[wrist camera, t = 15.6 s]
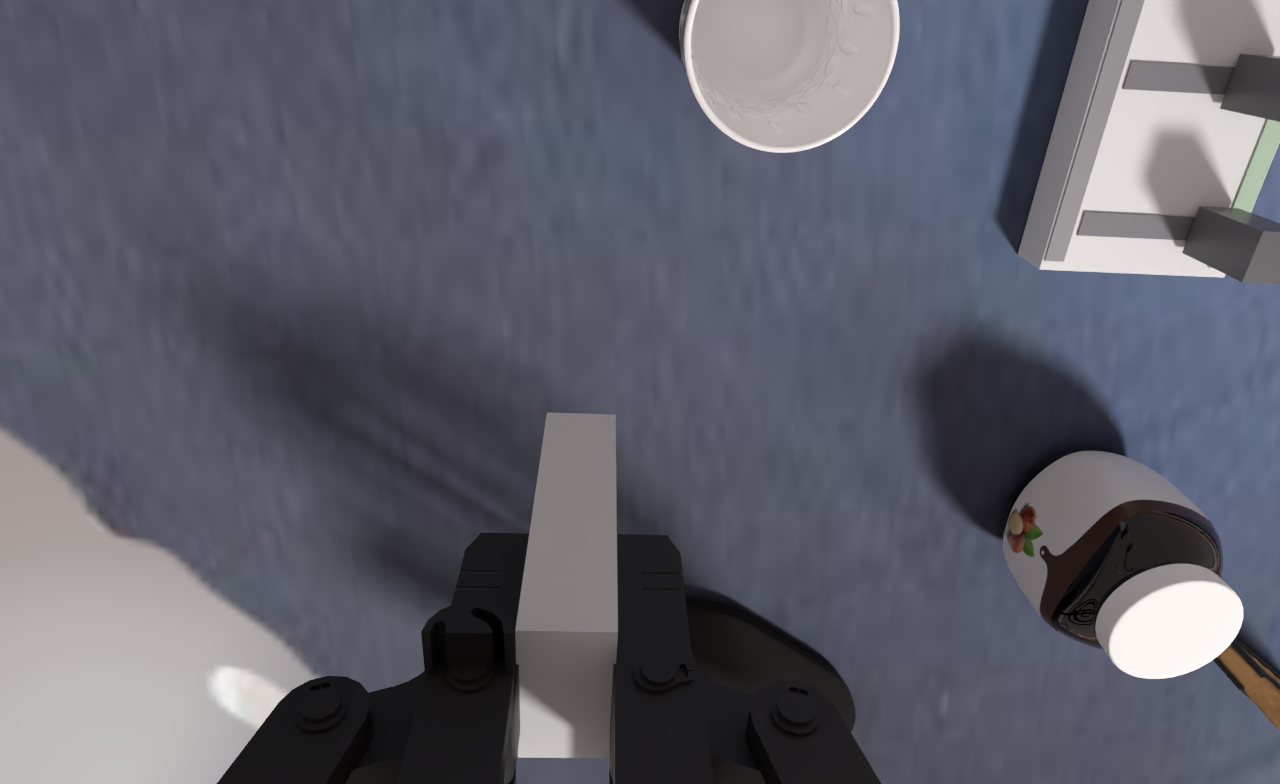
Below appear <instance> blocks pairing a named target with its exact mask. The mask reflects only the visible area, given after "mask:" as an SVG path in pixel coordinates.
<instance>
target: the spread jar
mask: <svg viewBox="0 0 1280 784" xmlns="http://www.w3.org/2000/svg"><path fill="white" fill-rule="evenodd" d="M1002 543H1003V554H1004V557H1005V560H1006V563H1007V565H1008V568H1009V570H1010V572H1011V574H1012V576H1013V577H1014V579H1015V581H1016V582H1017V584H1018V585H1019V587H1020V588H1021V590H1022V591H1023V593H1024V594H1025V596H1026V597H1027V599H1028V600H1029V602H1030V603H1031V604H1032V606H1033V607H1034V609H1035V610H1036V611H1037V612H1038V614H1039V615H1040V616H1041V617H1042V618H1043V619H1044V620H1045V621H1046V622H1047V623H1048V624H1049V625H1050V626H1051V627H1052V628H1053V629H1054V630H1056V631H1058V632H1059V633H1061V634H1063V635H1065V636H1067V637H1069V638H1071V639H1073V640H1076V641H1078V642H1080V643H1082V644H1085V645H1088V646H1092V647H1095V648H1099V649H1102V650H1105V652H1106V653H1107V655H1108V656H1109V657H1110V659H1111V660H1112V661H1113V663H1114V664H1115V665H1116V666H1117V667H1118V668H1119V669H1120V670H1122V671H1124V672H1125V673H1127V674H1129V675H1132V676H1135V677H1139V678H1146V679H1163V678H1170V677H1175V676H1179V675H1182V674H1186V673H1189V672H1191V671H1193V670H1196V669H1198V668H1200V667H1202V666H1204V665H1205V664H1207V663H1209V662H1211V661H1212V660H1213V659H1215V658H1216V657H1217V656H1219V655H1220V654H1221V653H1222V652H1223V651H1224V650H1225V649H1226V648H1227V647H1228V646H1229V645H1230V644H1231V643H1232V641H1233V640H1234V639H1235V637H1236V636H1237V634H1238V632H1239V630H1240V628H1241V625H1242V621H1243V606H1242V603H1241V600H1240V598H1239V597H1238V596H1237V595H1236V593H1235V592H1234V591H1233V590H1232V589H1231V588H1230V587H1229V586H1228V585H1227V584H1226V583H1225V582H1224V581H1223V580H1222V579H1221V577H1222V570H1223V552H1222V547H1221V541H1220V538H1219V536H1218V534H1217V532H1216V530H1215V528H1214V527H1213V525H1212V524H1211V522H1210V521H1209V520H1208V518H1207V517H1206V516H1205V515H1204V513H1203V512H1202V511H1201V510H1200V509H1199V508H1198V507H1197V506H1196V505H1195V504H1194V503H1193V502H1191V501H1190V500H1189V499H1188V498H1187V497H1186V496H1185V495H1184V494H1183V493H1181V492H1180V491H1179V490H1178V489H1177V488H1176V487H1175V486H1174V485H1172V484H1171V483H1170V482H1169V481H1168V480H1166V479H1165V478H1164V477H1163V476H1161V475H1160V474H1158V473H1157V472H1155V471H1154V470H1152V469H1151V468H1149V467H1147V466H1145V465H1143V464H1141V463H1139V462H1137V461H1135V460H1133V459H1130V458H1128V457H1125V456H1122V455H1119V454H1115V453H1110V452H1104V451H1097V450H1077V451H1071V452H1067V453H1063V454H1060V455H1058V456H1055V457H1053V458H1051V459H1049V460H1047V461H1046V462H1044V463H1042V464H1041V465H1039V466H1038V467H1037V468H1035V469H1034V470H1033V471H1031V472H1030V473H1029V474H1028V475H1027V476H1026V477H1025V478H1024V479H1023V480H1022V481H1021V483H1020V484H1019V485H1018V487H1017V488H1016V489H1015V491H1014V493H1013V495H1012V497H1011V499H1010V502H1009V504H1008V507H1007V510H1006V514H1005V519H1004V526H1003V534H1002Z"/></svg>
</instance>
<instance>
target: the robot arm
mask: <svg viewBox="0 0 1280 784" xmlns="http://www.w3.org/2000/svg"><path fill="white" fill-rule="evenodd" d="M421 634H422V645H423V656H424V666H425V671H424V672H423V673H421V674H420V675H419V676H417V677H415V678H413V679H412V680H410V681H408V682H405V683H402V684H400V685H397V686H394V687H390V688H386V689H382V690H378V691H374V692H370V693H368V692H367V691H366V690H365V688H364V687H363V686H362V685H361V684H360V683H359V682H357V681H355V680H352V679H350V678H348V677H340V676H326V677H322V678H318V679H314V680H310V681H308V682H306V683H304V684H303V685H300V686H298V687H297V688H295V689H293V690H292V691H291V692H290V693H289V694H287V695H286V696H285V697H284V698H283V699H282V700H281V701H280V702H279V703H278V705H277V706H276V707H275V709H274V710H273V711H272V712H271V714H270V715H269V716H268V718H267V719H266V720H265V722H264V723H263V724H262V725H261V727H260V728H259V729H258V731H257V732H256V733H255V735H254V736H253V737H252V739H251V740H250V741H249V742H248V744H247V745H246V746H245V748H244V749H243V750H242V752H241V753H240V754H239V756H238V757H237V758H236V760H235V761H234V762H233V763H232V765H231V766H230V767H229V769H228V770H227V771H226V773H225V774H224V775H223V777H222V778H221V779H220V780H219V782H218V783H217V784H516V761H517V753H518V757H523V758H610V770H609V784H881V782H880V781H879V779H878V777H877V776H876V774H875V772H874V771H873V769H872V767H871V766H870V764H869V762H868V761H867V759H866V757H865V756H864V754H863V752H862V751H861V749H860V747H859V746H858V744H857V742H856V741H855V739H854V737H853V736H852V734H851V732H850V731H849V729H848V727H847V726H846V724H845V722H844V721H843V719H842V717H841V716H840V714H839V712H838V711H837V709H836V707H835V706H834V705H833V704H832V703H831V701H830V700H829V699H828V698H827V697H826V696H825V695H824V694H823V693H821V692H820V691H818V690H816V689H815V688H813V687H811V686H810V685H807V684H803V683H800V682H796V681H775V682H772V683H770V684H767V685H764V686H762V687H761V688H760V689H759V690H758V691H757V692H756V693H755V694H754V695H750V694H747V693H744V692H740V691H737V690H733V689H730V688H728V687H725V686H723V685H720V684H718V683H717V682H715V681H714V680H712V679H711V678H709V677H708V676H707V675H706V674H705V673H704V672H703V671H702V670H701V669H700V668H699V666H698V665H697V663H696V661H695V660H694V657H693V653H692V649H691V641H690V632H689V624H688V616H687V607H686V599H685V593H684V582H683V577H682V566H681V557H680V552H679V551H678V550H677V548H676V547H675V546H674V544H673V543H672V542H671V540H670V539H669V537H668V536H667V535H626V534H617V502H616V415H607V414H576V413H547V415H546V422H545V429H544V436H543V443H542V450H541V457H540V464H539V471H538V477H537V484H536V491H535V498H534V505H533V512H532V519H531V526H530V532H529V534H511V533H480V534H479V536H478V537H477V538H476V539H475V540H474V541H473V542H472V543H471V544H470V546H469V547H468V548H467V549H466V550H465V554H464V558H463V562H462V566H461V570H460V574H459V578H458V582H457V586H456V590H455V594H454V598H453V602H452V606H449V607H447V608H444V609H442V610H440V611H439V612H438V613H436V614H435V615H434V616H433V617H431V618H430V619H429V620H428V621H427V623H426V625H425V627H424V628H423V630H422V632H421Z"/></svg>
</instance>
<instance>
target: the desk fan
mask: <svg viewBox="0 0 1280 784" xmlns="http://www.w3.org/2000/svg"><path fill="white" fill-rule="evenodd" d="M686 607H687V616H688V624H689V632H690V641H691V649H692V653H693V657H694V660H695V661H696V663H697V665H698V666H699V668H700V669H701V670H702V671H703V672H704V673H705V674H706V675H707V676H708V677H709V678H711V679H712V680H714V681H715V682H717V683H718V684H720V685H723V686H725V687H728V688H730V689H733V690H737V691H740V692H744V693H747V694H750V695H754V694H755V693H756V692H757V691H758V690H759V689H760V688H761V687H762V686H764V685H767V684H770V683H772V682H775V681H796V682H800V683H803V684H807V685H810V686H811V687H813V688H815V689H816V690H818V691H820V692H821V693H823V694H824V695H825V696H826V697H827V698H828V699H829V700H830V701H831V703H832V704H833V705H834V706H835V707H836V709H837V711H838V712H839V714H840V716H841V717H842V719H843V721H844V722H845V724H846V726H847V727H848V729H849V731H850V732H851V731H852V729H853V726H854V723H855V716H856V715H855V706H854V702H853V699H852V696H851V693H850V691H849V689H848V687H847V685H846V684H845V682H844V681H843V679H842V678H841V677H840V676H839V675H838V673H837V672H835V671H834V670H833V669H832V668H831V667H830V666H828V665H827V664H825V663H824V662H822V661H821V660H819V659H818V658H816V657H814V656H813V655H811V654H809V653H808V652H806V651H804V650H803V649H801V648H800V647H798V646H796V645H795V644H793V643H791V642H790V641H788V640H786V639H785V638H783V637H781V636H780V635H778V634H776V633H775V632H773V631H772V630H770V629H768V628H767V627H765V626H763V625H762V624H760V623H758V622H757V621H755V620H753V619H752V618H750V617H748V616H746V615H744V614H743V613H741V612H738V611H736V610H733V609H731V608H728V607H725V606H721V605H718V604H713V603H708V602H700V601H686Z"/></svg>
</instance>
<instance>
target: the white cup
mask: <svg viewBox="0 0 1280 784" xmlns="http://www.w3.org/2000/svg"><path fill="white" fill-rule="evenodd" d="M898 40H899V9H898V2H897V0H684V4H683V7H682V11H681V15H680V24H679V42H680V51H681V56H682V60H683V64H684V67H685V71H686V73H687V76H688V79H689V82H690V85H691V88H692V90H693V93H694V95H695V97H696V99H697V101H698V103H699V105H700V106H701V108H702V109H703V111H704V112H705V114H706V115H707V116H708V118H709V119H710V120H711V121H712V122H713V123H714V124H715V125H716V126H717V127H718V128H719V129H720V130H721V131H722V132H724V133H725V134H726V135H728V136H729V137H731V138H732V139H734V140H736V141H737V142H739V143H741V144H744V145H746V146H748V147H751V148H754V149H758V150H762V151H767V152H777V153H787V152H797V151H803V150H807V149H811V148H814V147H817V146H819V145H822V144H824V143H826V142H829V141H831V140H832V139H834V138H836V137H838V136H839V135H841V134H842V133H844V132H845V131H847V130H848V129H849V128H850V127H852V126H853V125H854V124H855V123H856V122H857V121H858V120H859V119H860V118H861V117H862V116H863V115H864V114H865V113H866V112H867V111H868V110H869V108H870V107H871V106H872V105H873V103H874V102H875V100H876V99H877V98H878V96H879V94H880V93H881V91H882V89H883V87H884V86H885V84H886V81H887V79H888V77H889V75H890V72H891V69H892V67H893V63H894V60H895V56H896V52H897V47H898Z"/></svg>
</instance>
